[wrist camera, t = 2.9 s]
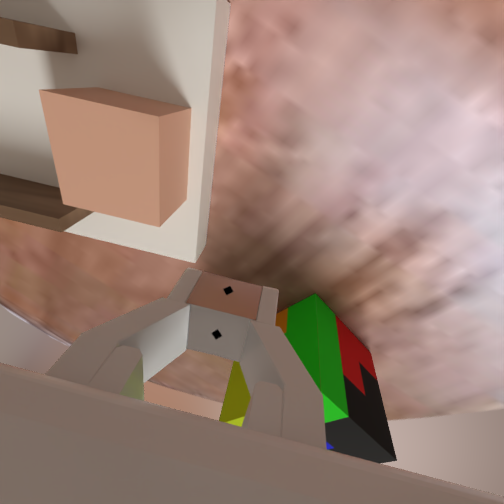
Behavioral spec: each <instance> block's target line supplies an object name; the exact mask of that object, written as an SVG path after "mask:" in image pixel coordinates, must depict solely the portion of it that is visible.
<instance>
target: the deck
mask: <svg viewBox="0 0 504 504" xmlns="http://www.w3.org/2000/svg"><path fill="white" fill-rule="evenodd" d="M230 6H231V4H230V3H229V2H228V1H227V0H0V17H3V18H8V19H12V20H17V21H22V22H26V23H31V24H36V25H40V26H45V27H49V28H54V29H59V30H63V31H68V32H73V33H75V37H76V44H77V51H78V54H70V53H61V52H52V51H43V50H34V49H24V48H17V47H13V46H8V45H4V44H0V174H4V175H8V176H12V177H17V178H21V179H25V180H29V181H33V182H38V183H42V184H46V185H50V186H54V187H59V182H58V178H57V173H56V168H55V164H54V159H53V154H52V150H51V145H50V140H49V136H48V131H47V126H46V122H45V117H44V112H43V108H42V103H41V99H40V94H39V90H41V89H66V88H91V87H99V88H103V89H108V90H112V91H116V92H121V93H125V94H130V95H134V96H139V97H143V98H148V99H152V100H157V101H161V102H166V103H170V104H175V105H179V106H184V107H188V108H192V109H191V128H190V147H189V167H188V186H187V200H186V201H185V202H184V203H183V204H182V205H181V206H180V207H179V208H178V209H177V210H176V211H175V212H174V213H173V214H172V215H171V216H170V217H169V218H168V219H167V220H166V221H165V222H164V223H163V224H162V225H161V226H160V227H156V226H152V225H148V224H144V223H139V222H135V221H131V220H127V219H123V218H119V217H114V216H110V215H106V214H102V213H98V212H93V213H92V214H90V215H88V216H87V217H85V218H84V219H82V220H81V221H79V222H77V223H76V224H74V225H73V226H71V227H70V228H68V229H66V230H65V231H66V232H70V233H74V234H78V235H82V236H86V237H90V238H94V239H98V240H102V241H106V242H111V243H115V244H119V245H123V246H127V247H131V248H135V249H139V250H143V251H147V252H152V253H156V254H160V255H164V256H168V257H172V258H176V259H180V260H184V261H188V262H192V263H196V261H197V259H198V258H199V256H200V254H201V253H202V251H203V249H204V247H205V246H206V239H207V230H208V220H209V210H210V200H211V191H212V181H213V171H214V162H215V152H216V142H217V132H218V123H219V113H220V103H221V93H222V84H223V74H224V64H225V54H226V45H227V35H228V25H229V16H230ZM59 188H60V187H59Z"/></svg>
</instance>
